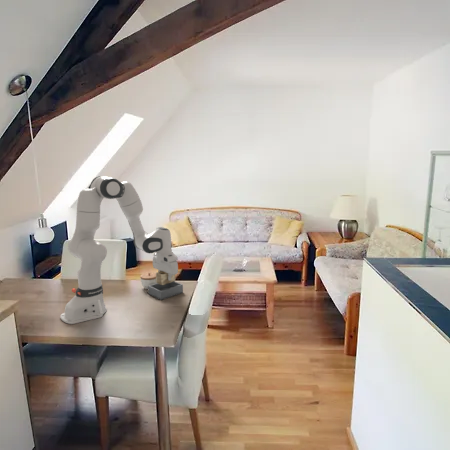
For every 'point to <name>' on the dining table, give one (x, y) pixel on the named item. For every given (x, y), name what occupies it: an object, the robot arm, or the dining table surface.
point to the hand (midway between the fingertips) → (165, 278)
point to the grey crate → (165, 290)
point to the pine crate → (163, 278)
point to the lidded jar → (148, 279)
